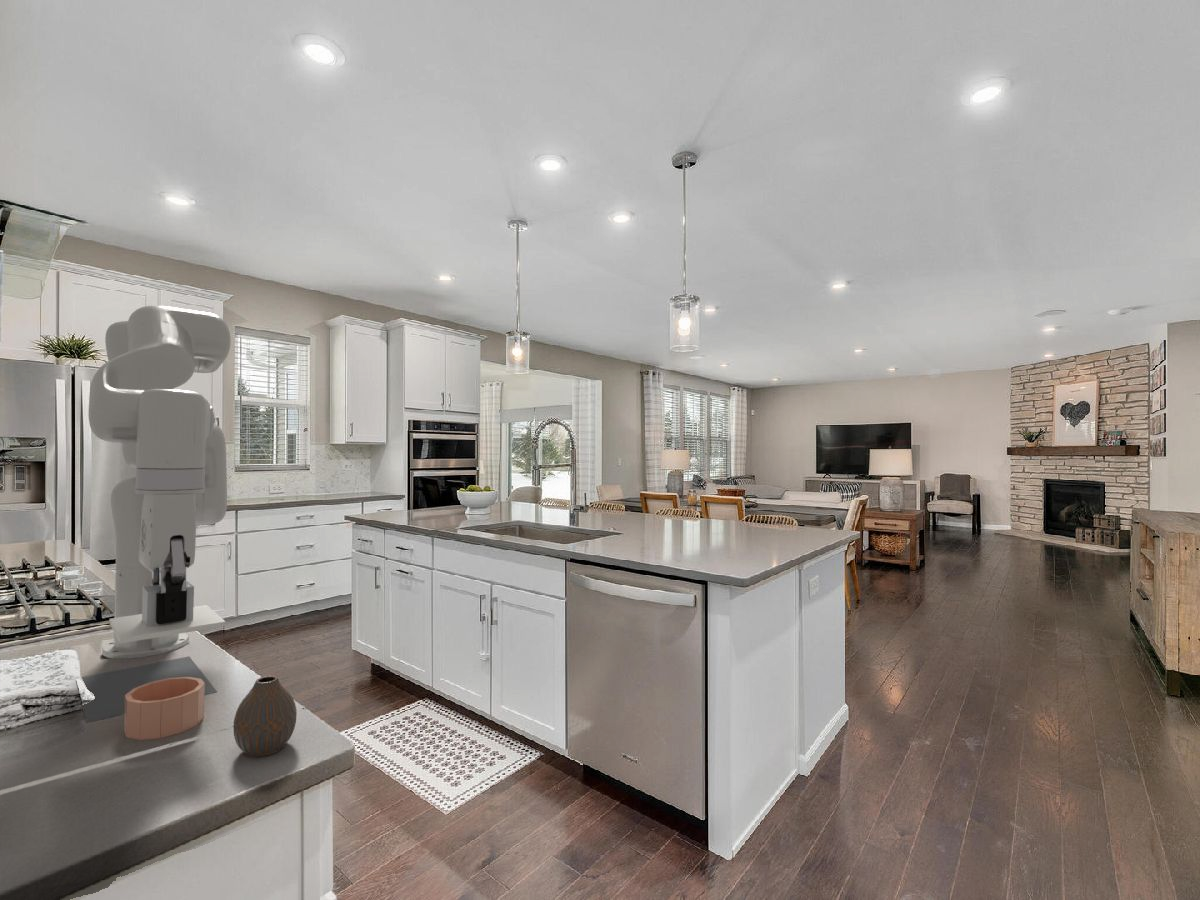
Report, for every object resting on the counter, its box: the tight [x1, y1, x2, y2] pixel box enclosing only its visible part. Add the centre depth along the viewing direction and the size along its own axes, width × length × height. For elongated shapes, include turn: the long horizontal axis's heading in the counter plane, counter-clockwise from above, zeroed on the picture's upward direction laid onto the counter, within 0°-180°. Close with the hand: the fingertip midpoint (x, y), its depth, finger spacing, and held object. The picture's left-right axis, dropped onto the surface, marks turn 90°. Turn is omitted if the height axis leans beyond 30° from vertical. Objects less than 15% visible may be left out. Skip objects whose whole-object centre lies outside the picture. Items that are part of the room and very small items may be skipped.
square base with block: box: [109, 580, 227, 643], centre depth 79 cm, size 11×11×5 cm
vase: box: [232, 675, 298, 757], centre depth 74 cm, size 7×7×9 cm
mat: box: [81, 655, 218, 724], centre depth 91 cm, size 20×15×1 cm
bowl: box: [123, 677, 206, 741], centre depth 79 cm, size 8×8×5 cm
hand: (167, 616), depth 79 cm, fingers closed on square base with block, 4 cm apart
